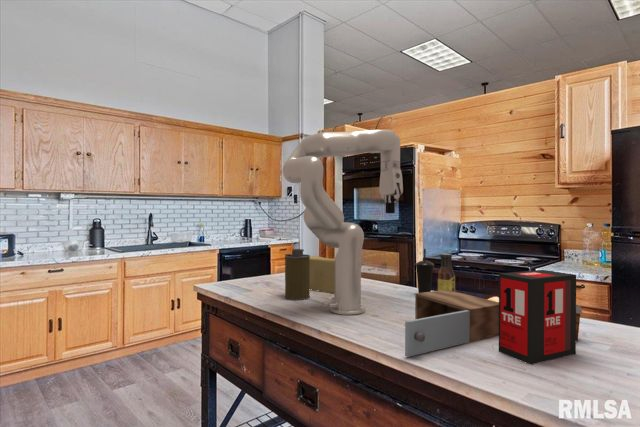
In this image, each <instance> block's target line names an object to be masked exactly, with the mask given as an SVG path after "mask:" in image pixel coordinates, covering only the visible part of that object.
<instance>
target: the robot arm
mask: <svg viewBox="0 0 640 427" xmlns="http://www.w3.org/2000/svg"><path fill="white" fill-rule="evenodd" d="M365 153H370V154H375V153H376V154H379V153H380V176H379V195H380V196H381V199H383V200H384V204H385V213H386V214H395V210H396V207H395V206H396V201H397V200H398V199H400V196H401V195H402V194H403V192H404V184H403V173H402V170H401V138H400V136H399V135H397V134H396V132H395V131H393V130H392V129H370V130H353V131H352V130H351V131H321V132H317V133H314V134H310V135H307V136H306V137H305V138H303V139H302V140H301V141H300V142H299V143H298V145H297V146H296V147H295V149H293V151H292V153H291V154H290V155H289V156H288V158H287V159H286V161H284V164H283V165H282V175H283V177H284V179H285V181H287V182H289V183H292V184H299V186H300V188H299V197H300V200H301V201H300V202H301V203H302V205H303V206H304V207H305V208H304V209H303V210H304V211H303V215H302V216H303V221H304V223H305V225H306V227H307V228H308V230H310V232H311V233H312V234H313V235H314V236H315V237H316V238H317V239H319V241H320V242H321V243H322V244H323V245H325V246H327V247H330V248H334V249H335V248H336V249H338V250H337V252H336V254H335V257H334V259H335V262H334V267H335V271H334V293H333V296H334V297H331V299H330V300H329V301H328V300H327V301H322V302H321V306H322V307H323V308H326V307H327V308H329V311H330V312H332V313H334V314H336V315H337V314H338V315H344V316H345V315H347V316H349V315H351V316H352V315H353V316H354V315H361V314H363V313H365V312H366V306H364V305H362V299H361V298H362V251H363V245H364V240H365V233H364V231H363V229H362V227H361V226H360V225H359V224H357V223H354V222H347V221H346V222H344V220H345V215H344V213H343V210H341V208H340V207H339V205H338V204H337V203H335V201H334V200H333V199H332V198H331V197H330V196H329V194H328V193H327V192H326V190H325V188H324V184H323V179H324V165H323V161H322V160H321V159H322V158H330V157H331V158H332V157H345V156H355V155H362V154H365Z"/></svg>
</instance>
